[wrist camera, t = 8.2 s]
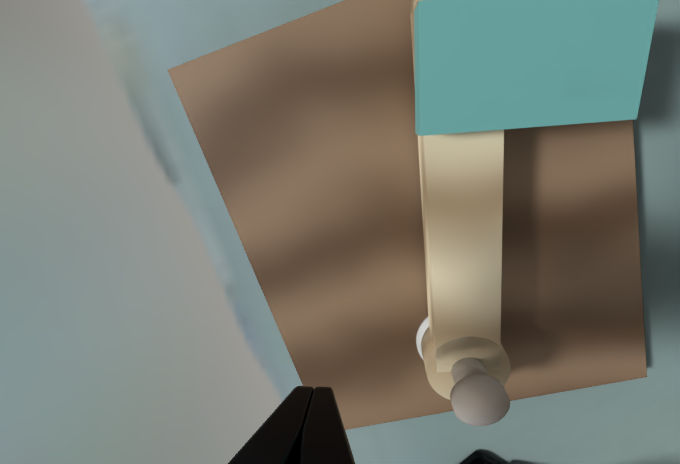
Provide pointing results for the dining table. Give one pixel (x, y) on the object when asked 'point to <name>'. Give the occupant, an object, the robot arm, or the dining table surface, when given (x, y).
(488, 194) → the link
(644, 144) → the dining table surface
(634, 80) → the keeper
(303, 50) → the base board
